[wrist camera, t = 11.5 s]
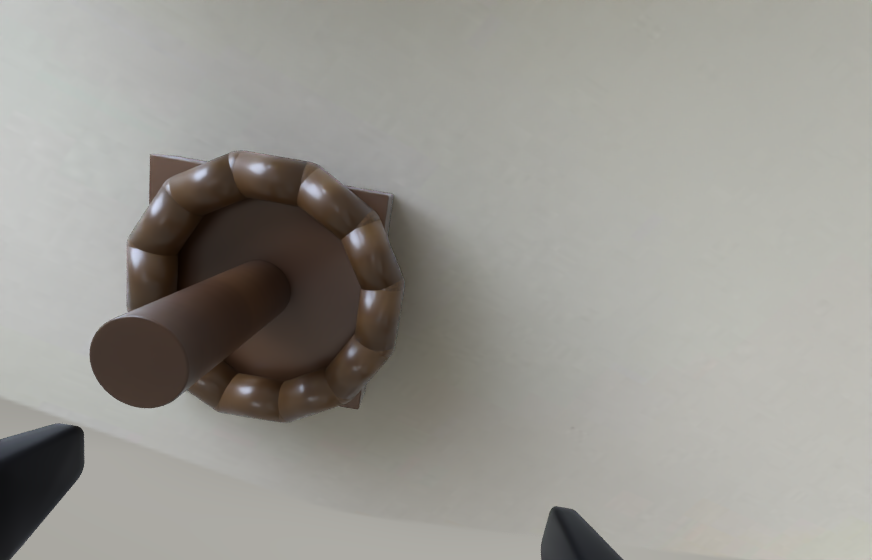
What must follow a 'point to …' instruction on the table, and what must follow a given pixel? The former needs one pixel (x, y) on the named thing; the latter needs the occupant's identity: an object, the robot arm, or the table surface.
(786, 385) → the table surface
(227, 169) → the ring
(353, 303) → the post
